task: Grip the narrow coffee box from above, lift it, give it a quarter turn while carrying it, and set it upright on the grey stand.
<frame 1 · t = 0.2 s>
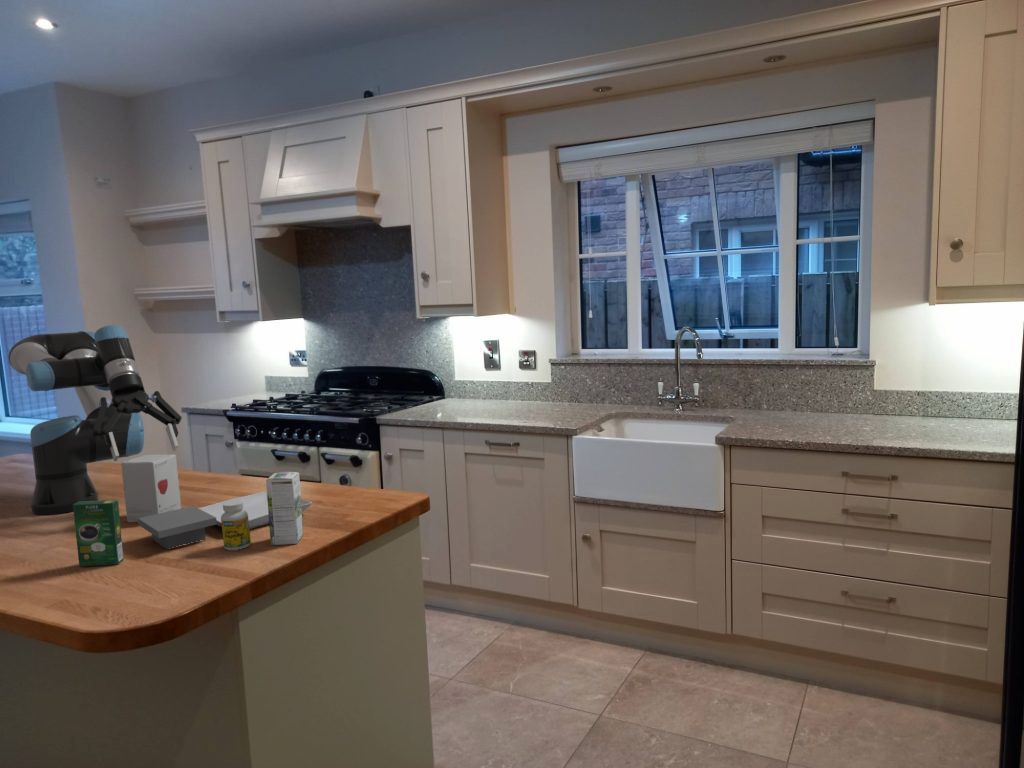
hand: (146, 453, 180), 16 cm above the table, tool tilted 35°, fingers open, 13 cm apart
coffee box: (102, 564, 149), on the table
supplement bottle: (237, 547, 156), on the table
grey stand: (179, 539, 162), on the table
supplement box: (155, 518, 180), on the table
syrup box: (288, 541, 158), on the table
salad plate: (252, 519, 176), on the table
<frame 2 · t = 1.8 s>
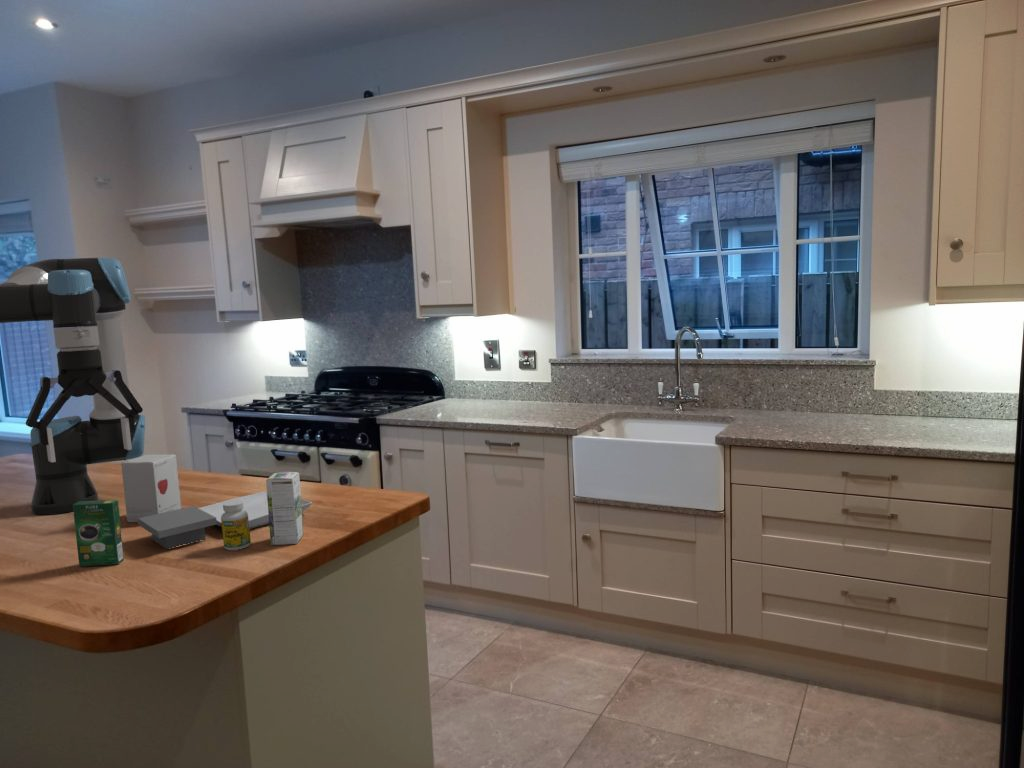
hand: (91, 455, 147), 22 cm above the table, tool pointing down, fingers open, 13 cm apart
nothing on the table moved.
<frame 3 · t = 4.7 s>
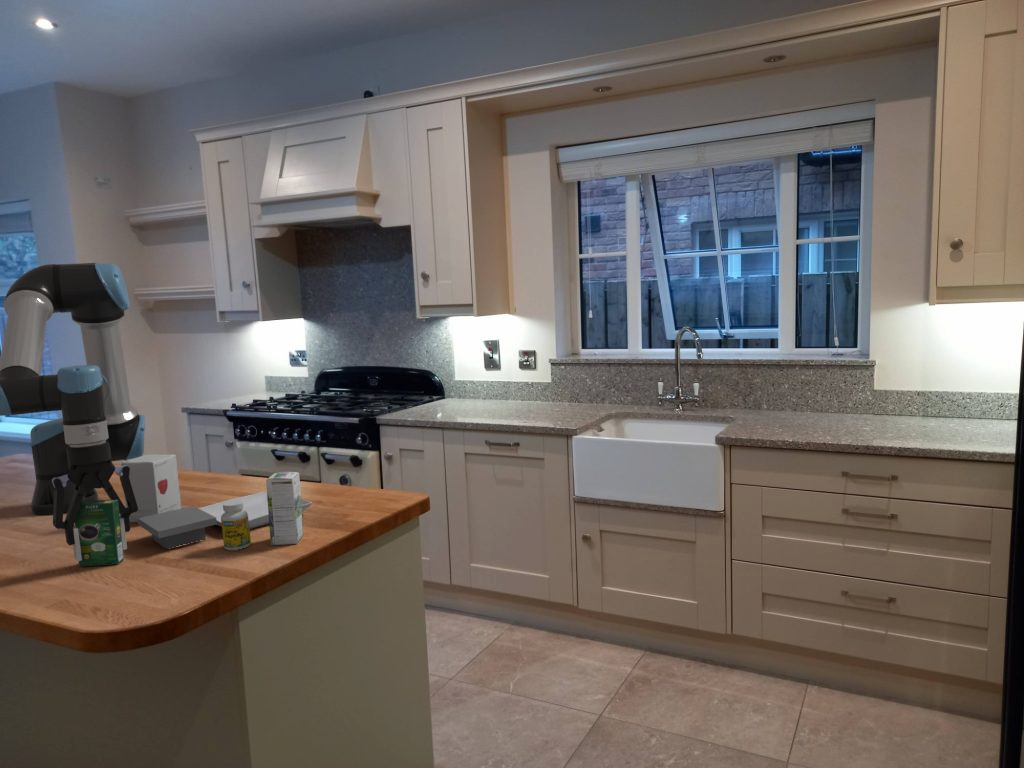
hand: (101, 553, 149), 2 cm above the table, tool pointing down, fingers closed on coffee box, 8 cm apart
coffee box: (102, 564, 149), on the table, touching gripper
everything else where it was.
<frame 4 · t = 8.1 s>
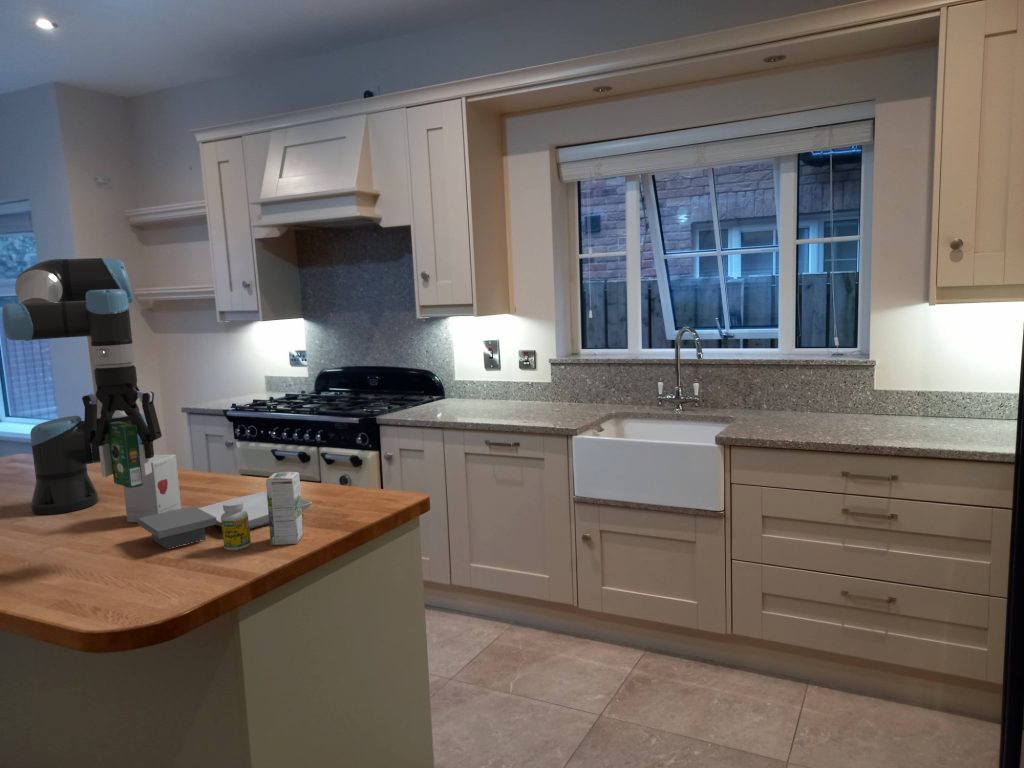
hand: (127, 474, 153), 17 cm above the table, tool pointing down, fingers closed on coffee box, 7 cm apart
coffee box: (129, 485, 153), point 15 cm above the table, touching gripper
everything else where it was.
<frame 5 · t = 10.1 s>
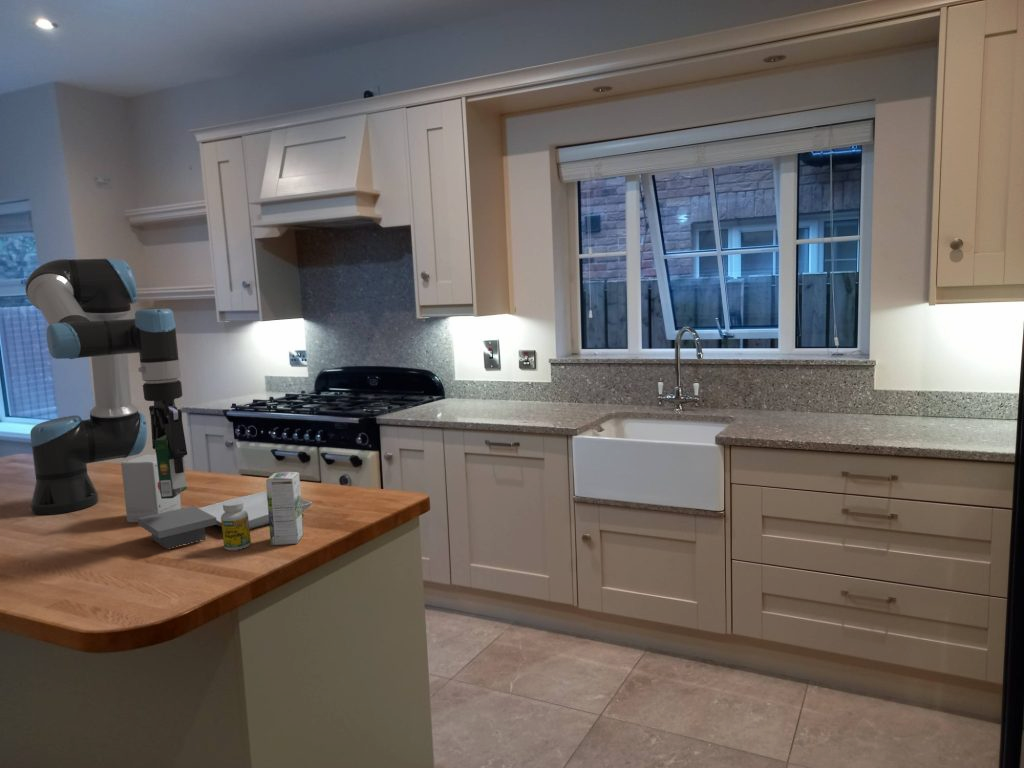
hand: (173, 484, 161), 13 cm above the table, tool pointing down, fingers closed on coffee box, 7 cm apart
coffee box: (174, 495, 161), point 10 cm above the table, touching gripper
everything else where it was.
when the fingers open (8 cm above the table, at t = 11.7 s): coffee box stays where it is, resting on grey stand.
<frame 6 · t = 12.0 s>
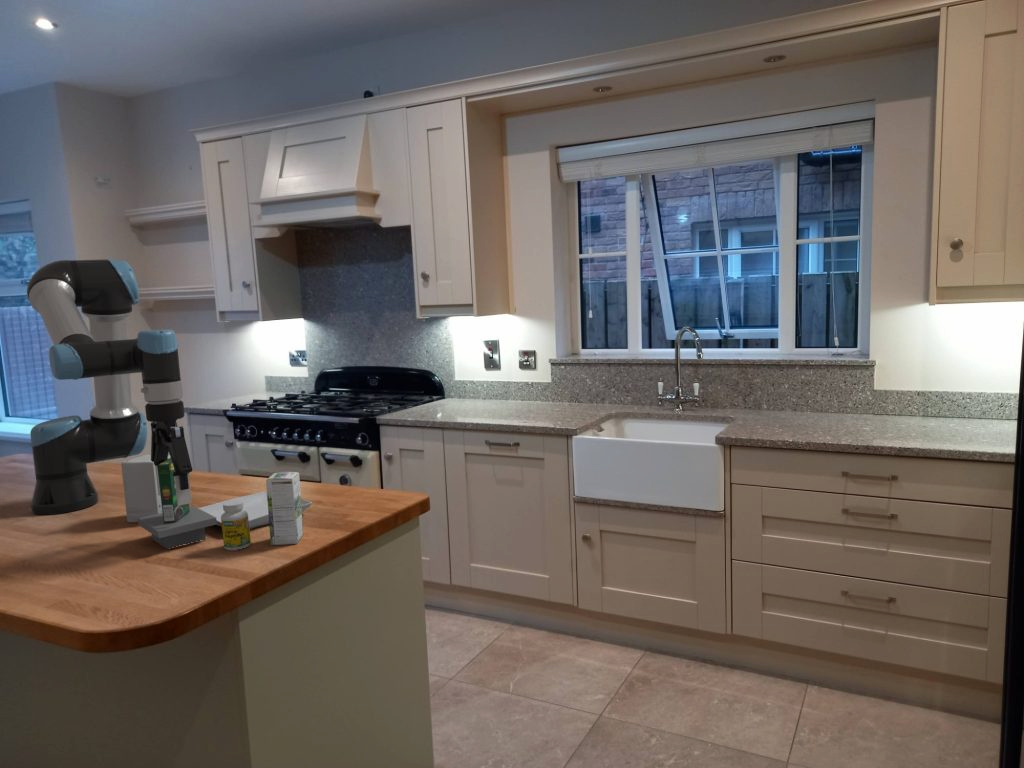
hand: (174, 498, 161), 9 cm above the table, tool pointing down, fingers open, 12 cm apart
coffee box: (177, 518, 161), point 5 cm above the table, touching grey stand
everything else where it was.
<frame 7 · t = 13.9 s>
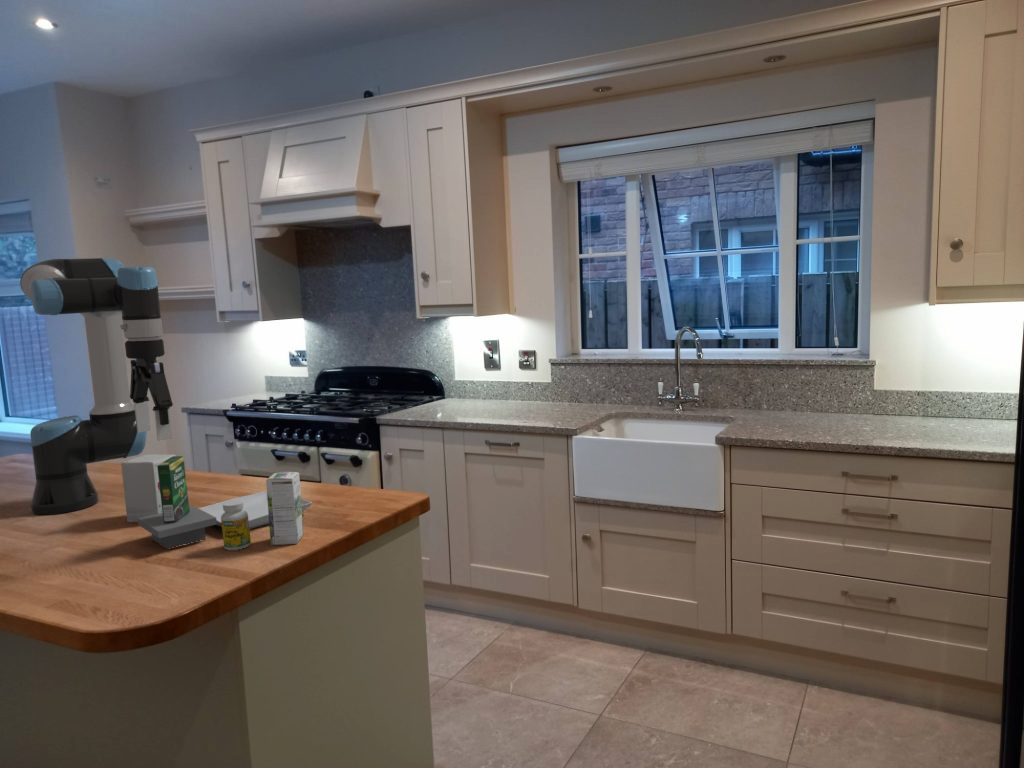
hand: (154, 435, 162), 23 cm above the table, tool pointing down, fingers open, 13 cm apart
nothing on the table moved.
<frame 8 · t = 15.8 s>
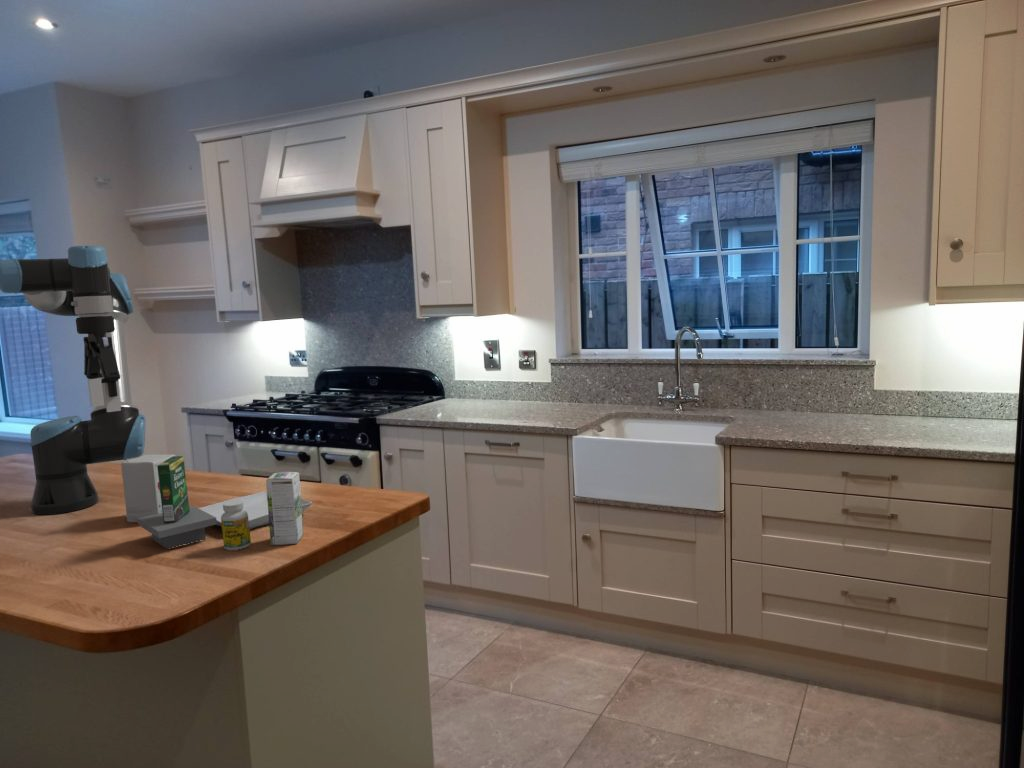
hand: (105, 408, 168), 29 cm above the table, tool pointing down, fingers open, 13 cm apart
nothing on the table moved.
at the end: coffee box inside the target area on the grey stand (0.2 cm from its centre), point 4.8 cm above the grey stand's base; coffee box tilted 0°; the gripper is holding nothing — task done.
